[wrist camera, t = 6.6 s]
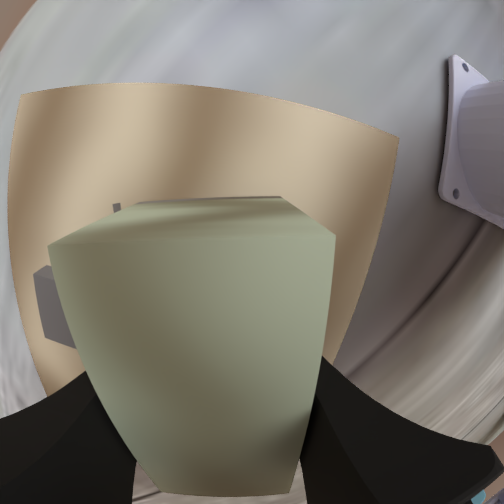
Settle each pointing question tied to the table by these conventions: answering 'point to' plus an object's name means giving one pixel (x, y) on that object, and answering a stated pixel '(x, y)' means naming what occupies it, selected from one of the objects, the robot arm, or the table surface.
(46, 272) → the small gray block
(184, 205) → the block
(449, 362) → the table surface
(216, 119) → the board
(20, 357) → the table surface
